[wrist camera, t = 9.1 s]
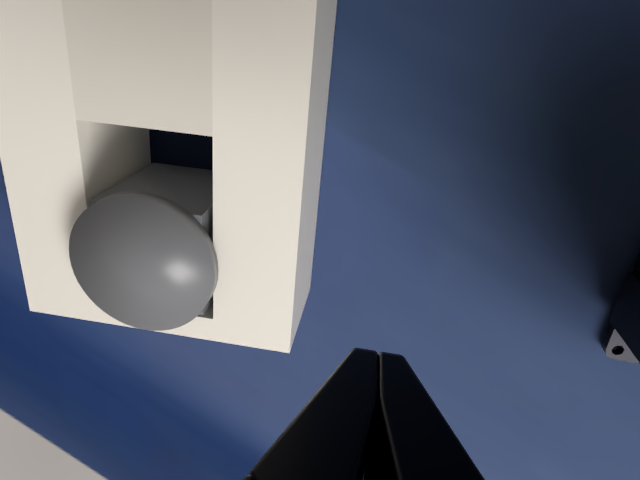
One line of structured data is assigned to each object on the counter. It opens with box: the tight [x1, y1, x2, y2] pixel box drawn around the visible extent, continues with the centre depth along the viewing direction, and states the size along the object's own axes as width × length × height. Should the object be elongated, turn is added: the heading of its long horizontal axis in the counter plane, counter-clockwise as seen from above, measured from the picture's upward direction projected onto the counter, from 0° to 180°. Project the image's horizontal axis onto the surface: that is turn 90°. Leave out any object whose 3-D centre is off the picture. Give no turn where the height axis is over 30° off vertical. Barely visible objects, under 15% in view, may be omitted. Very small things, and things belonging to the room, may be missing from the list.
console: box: [0, 0, 337, 353], centre depth 17 cm, size 11×21×5 cm, turn 175°
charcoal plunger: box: [69, 163, 219, 331], centre depth 19 cm, size 5×5×6 cm
